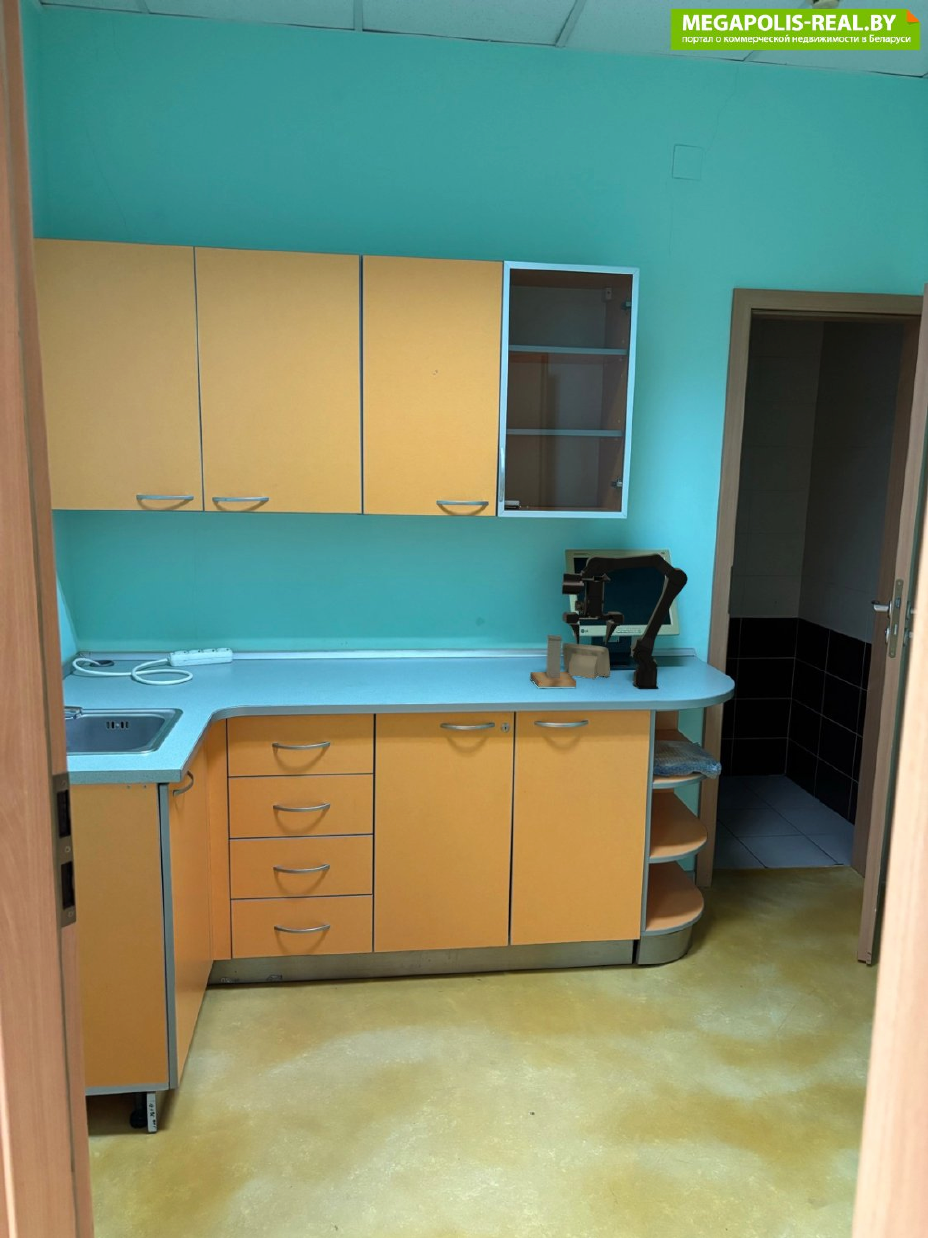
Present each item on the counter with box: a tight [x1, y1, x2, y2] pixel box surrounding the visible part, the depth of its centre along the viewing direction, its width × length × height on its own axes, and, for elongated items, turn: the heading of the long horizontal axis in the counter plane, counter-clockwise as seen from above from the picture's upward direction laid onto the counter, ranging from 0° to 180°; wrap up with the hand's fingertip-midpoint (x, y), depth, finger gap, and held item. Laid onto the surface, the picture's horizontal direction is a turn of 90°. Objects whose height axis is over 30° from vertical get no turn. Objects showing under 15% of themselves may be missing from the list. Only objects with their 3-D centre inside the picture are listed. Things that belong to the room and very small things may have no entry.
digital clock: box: [561, 642, 611, 680], centre depth 309 cm, size 16×9×11 cm, turn 51°
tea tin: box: [545, 634, 563, 678], centre depth 295 cm, size 4×5×13 cm
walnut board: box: [529, 671, 577, 688], centre depth 297 cm, size 12×12×2 cm
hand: (591, 644), depth 295 cm, fingers open, 9 cm apart
